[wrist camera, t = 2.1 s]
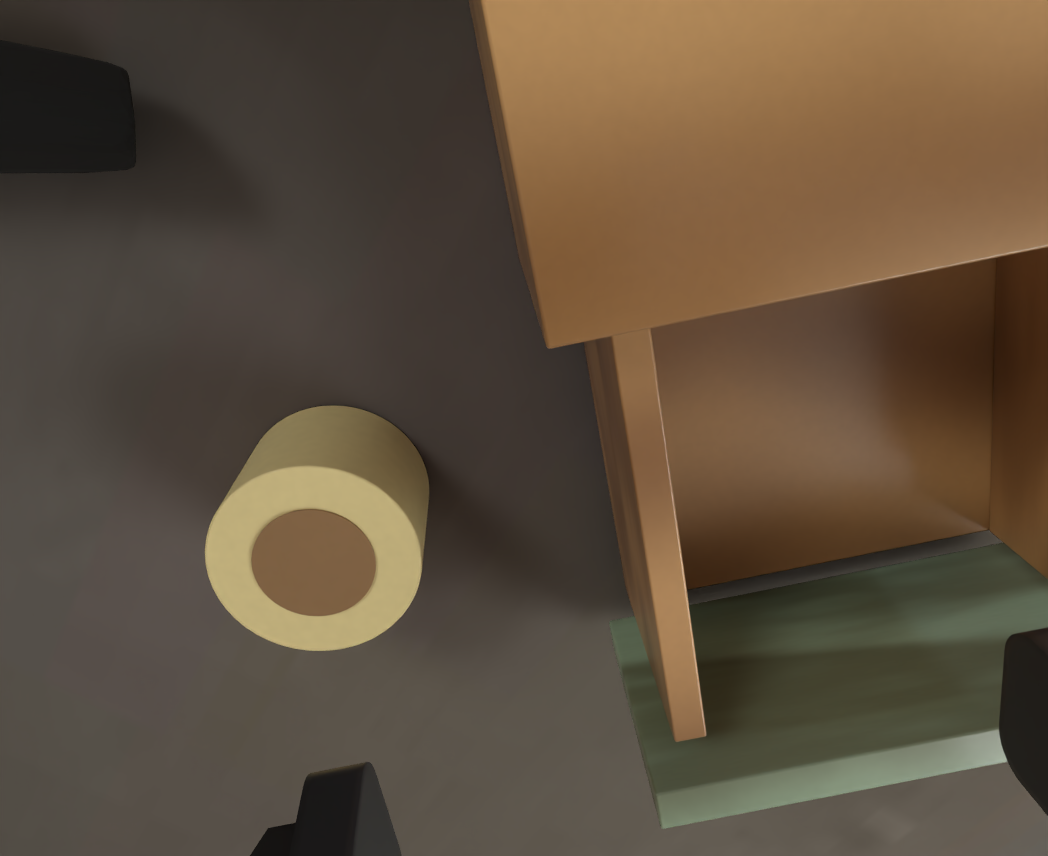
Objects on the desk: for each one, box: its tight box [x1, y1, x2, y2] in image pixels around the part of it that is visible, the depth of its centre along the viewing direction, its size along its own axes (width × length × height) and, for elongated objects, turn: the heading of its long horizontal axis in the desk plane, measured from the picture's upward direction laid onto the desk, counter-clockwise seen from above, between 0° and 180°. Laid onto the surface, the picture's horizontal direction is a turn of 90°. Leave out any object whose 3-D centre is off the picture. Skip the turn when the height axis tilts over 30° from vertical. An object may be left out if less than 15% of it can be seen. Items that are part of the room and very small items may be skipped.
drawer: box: [584, 247, 1048, 829], centre depth 21 cm, size 18×13×7 cm
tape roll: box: [205, 405, 429, 651], centre depth 24 cm, size 6×6×4 cm
